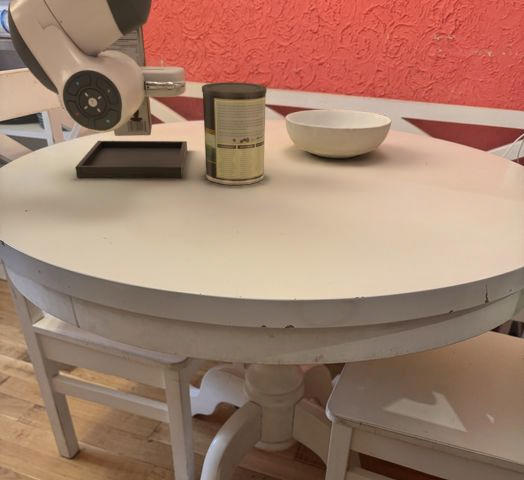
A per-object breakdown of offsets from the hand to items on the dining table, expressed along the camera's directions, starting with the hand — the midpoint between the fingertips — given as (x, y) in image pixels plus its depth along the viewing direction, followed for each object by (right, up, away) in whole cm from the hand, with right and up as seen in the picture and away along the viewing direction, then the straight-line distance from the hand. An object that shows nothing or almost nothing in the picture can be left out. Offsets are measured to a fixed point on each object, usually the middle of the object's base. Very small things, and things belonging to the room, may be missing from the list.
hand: (128, 75), depth 86 cm
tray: (0, -12, +8) cm, 14 cm away
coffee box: (0, -8, +4) cm, 9 cm away
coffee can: (+18, -17, +2) cm, 25 cm away
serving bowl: (+38, -7, +17) cm, 42 cm away
